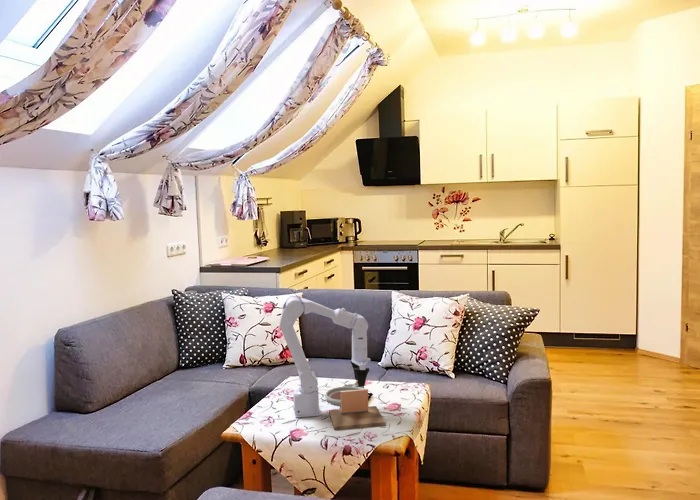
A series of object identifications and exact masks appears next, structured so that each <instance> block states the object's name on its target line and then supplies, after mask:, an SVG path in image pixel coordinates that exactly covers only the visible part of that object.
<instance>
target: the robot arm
mask: <svg viewBox="0 0 700 500" xmlns="http://www.w3.org/2000/svg"><path fill="white" fill-rule="evenodd" d="M312 313H313V314H317V315H320V316H323V317H327V318H329V319H331V320H332V323H333V324H335V325H339V326H342V327H345V328H346V329H352V330H351V361H350V364H351V367H352V370H353V374H354V379H355V381H356V380H357V381H358V384H357V385H358V386H359V387H358V388H362V387H364V388H365V386H366V380H367V377H368V374H369V372H370V368H369V367H366V365H367V363H368V362H371V358H370V357H368V336H367V335H368V334H367V333H368V329H369V323H368V321H367V319H366V318H365V317H364V316H362V315H361V314H360V313H356V312H354V313H352V312H351V311H347V310H346V308H344V307H342V308H339V307H338V308H336V309H332V308H330V307H327V306H325V305H323V304H320V303H318V302H315V301H313V300H310V299H307V298H304V297H299V296H296V295H292V296H289V297H288V298H287V299H286V300H285V301H284V303H283V305H282V309H281V315H280V320H279V328H280V331H281V333H282V335H283V338H284V340H285V343H286V345H287V347H288V350H289V353H290V354H291V357H292V360H293V363H294V365H295V368H296V369H297V372H298V379H299V382H300V386H299V387H298V390H293V407H292V408H293V411H294V417H295V418H306V417H317V416H318V417H319V416H322V412H321V409H320V402H319V401H320V400H319V399H320V398H319V397H320V396H319V387H318V386H319V382H318V380H317V375H316V373H315V371H314V370H312V368H311V367H310V364H309V362H308V360H307V358H306V355H305V351H304V350H303V347H302V345H301V342H300V340H299V338H298V336H297V332H296V329H295V328H294V325H295V323H296V321H297V320H298V319H299V318H300V317H301V316H302V314H304V315H308V314H312Z"/></svg>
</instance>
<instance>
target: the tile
mask: <svg viewBox="0 0 700 500" xmlns="http://www.w3.org/2000/svg"><path fill="white" fill-rule="evenodd" d="M362 389H363V390H351V391H341V406H340V409H341V414H346V413H357V412H368V407H369V389H368V388H367V389H366V388H365V389H364V388H362Z"/></svg>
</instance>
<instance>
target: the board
mask: <svg viewBox="0 0 700 500" xmlns="http://www.w3.org/2000/svg"><path fill="white" fill-rule="evenodd" d="M328 415H329V419H330V421H331V423H332V427H333V431H340V430H349V429H350V430H351V429H361V428H373V427H381V426H383V427H384V426H386V420H385V419H384V417H383V416H382V414H381V412H380V410H379V409H378V407H377V405H372V406H368V412H357V413H346V414H341V408H339V409H329V410H328Z"/></svg>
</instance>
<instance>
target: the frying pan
mask: <svg viewBox="0 0 700 500" xmlns="http://www.w3.org/2000/svg"><path fill="white" fill-rule="evenodd" d="M364 388H365V386H364V387H359V386H358V381H357V380H356V379H355V383H354V384H351V383H350V384H349V383H348V384H344V386H337V387H333V388H330V389H328V390H327V391H326V392H325V394H324V397H325V399H326V401H327V402H328V403H329V404H330V405H331V404H332V405H334V404H335V406H340V407H341V391H351V390H363V389H364Z"/></svg>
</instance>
